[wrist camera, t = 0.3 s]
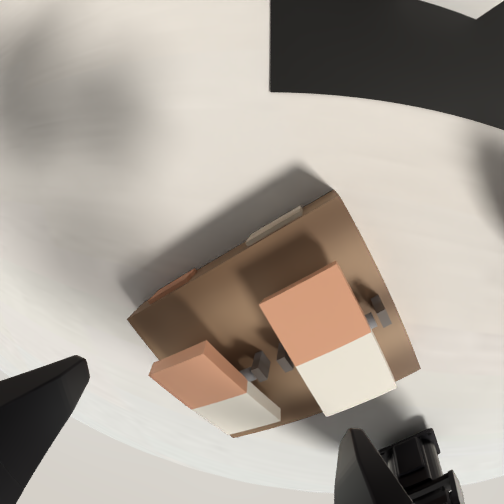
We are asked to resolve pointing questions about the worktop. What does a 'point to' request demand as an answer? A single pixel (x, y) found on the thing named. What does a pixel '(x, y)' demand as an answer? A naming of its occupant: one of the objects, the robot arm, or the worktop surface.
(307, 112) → the worktop surface
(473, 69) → the white and black block
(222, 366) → the block
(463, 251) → the worktop surface
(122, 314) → the worktop surface
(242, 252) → the switch unit
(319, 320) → the rocker
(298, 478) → the worktop surface
